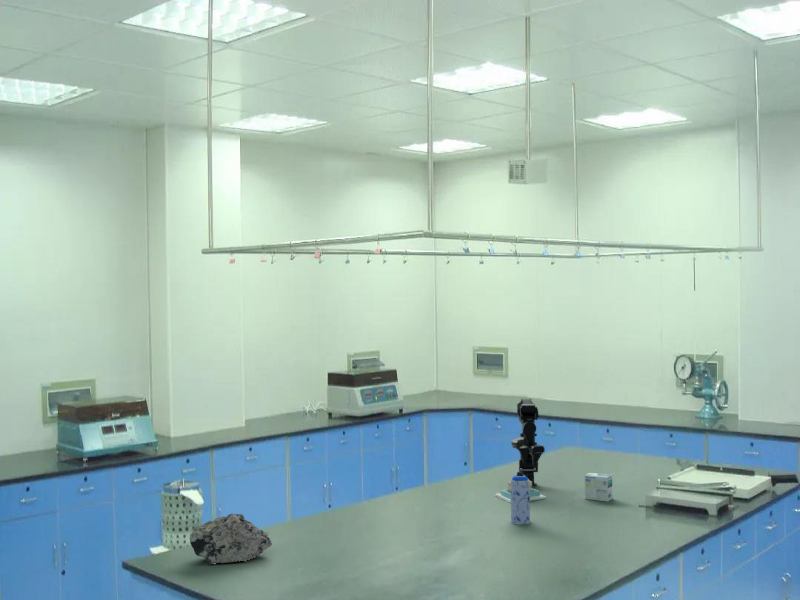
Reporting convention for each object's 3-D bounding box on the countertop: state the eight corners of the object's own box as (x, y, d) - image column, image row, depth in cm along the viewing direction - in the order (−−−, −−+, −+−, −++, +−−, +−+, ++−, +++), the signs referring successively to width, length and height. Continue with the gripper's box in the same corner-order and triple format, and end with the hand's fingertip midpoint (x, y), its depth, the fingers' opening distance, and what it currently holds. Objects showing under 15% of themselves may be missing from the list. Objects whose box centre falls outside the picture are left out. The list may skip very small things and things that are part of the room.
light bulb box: (613, 498, 368) (612, 474, 368) (608, 502, 363) (608, 477, 363) (589, 496, 374) (589, 472, 374) (584, 499, 368) (584, 474, 368)
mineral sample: (255, 508, 307) (262, 498, 295) (270, 557, 301) (278, 550, 289) (183, 530, 295) (187, 521, 283) (196, 582, 289) (201, 575, 277)
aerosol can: (530, 524, 328) (529, 474, 328) (510, 524, 330) (509, 473, 329) (531, 519, 336) (530, 470, 336) (511, 518, 337) (510, 469, 337)
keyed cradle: (495, 495, 377) (494, 489, 377) (529, 492, 383) (529, 485, 383) (509, 502, 364) (509, 495, 364) (545, 498, 370) (545, 491, 370)
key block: (527, 493, 377) (527, 479, 377) (532, 494, 373) (532, 481, 373) (508, 495, 373) (507, 481, 373) (512, 497, 370) (512, 483, 370)
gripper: (503, 429, 391) (504, 462, 391) (523, 435, 374) (523, 470, 374) (524, 428, 395) (525, 460, 395) (545, 433, 378) (545, 468, 378)
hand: (529, 465), depth 385 cm, fingers open, 9 cm apart
